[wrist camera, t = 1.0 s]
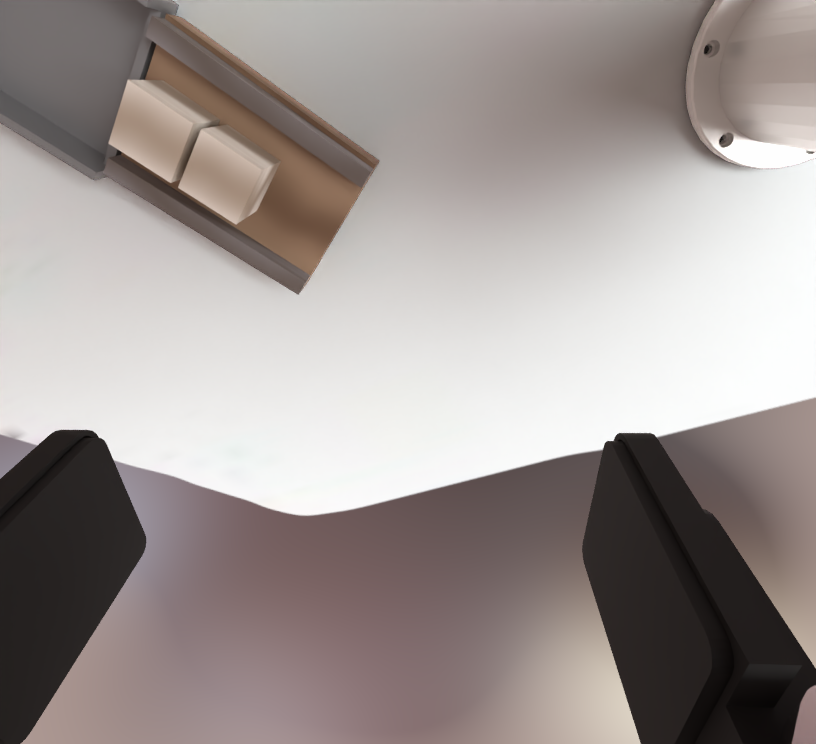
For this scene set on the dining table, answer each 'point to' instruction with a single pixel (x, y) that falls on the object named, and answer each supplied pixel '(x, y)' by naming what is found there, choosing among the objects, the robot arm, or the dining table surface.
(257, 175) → the chip
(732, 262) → the dining table surface
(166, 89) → the chip
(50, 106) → the tray
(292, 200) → the groove board
